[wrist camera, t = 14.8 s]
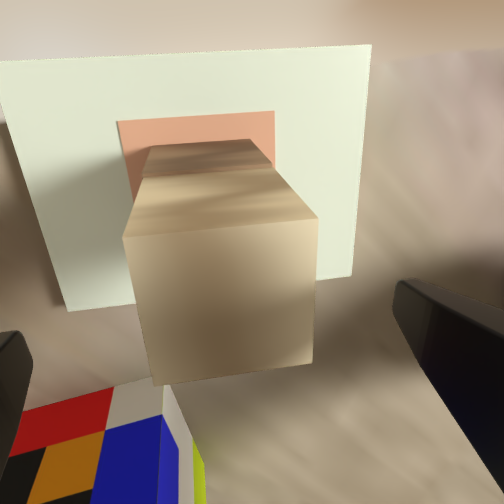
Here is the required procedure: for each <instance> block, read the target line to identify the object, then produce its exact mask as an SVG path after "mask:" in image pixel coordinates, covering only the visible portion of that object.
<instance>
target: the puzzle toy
mask: <svg viewBox="0 0 504 504" xmlns="http://www.w3.org/2000/svg"><path fill="white" fill-rule="evenodd" d="M0 504H206V490H205V472H204V463H203V461H202V459H201V456H200V454H199V452H198V449H197V447H196V445H195V442H194V440H193V438H192V435H191V433H190V431H189V429H188V426H187V424H186V422H185V419H184V417H183V415H182V412H181V410H180V408H179V405H178V403H177V401H176V398H175V396H174V394H173V391H172V389H171V387H170V385H163V386H156V387H154V385H153V380H152V376H151V377H148V378H144V379H140V380H137V381H133V382H130V383H126V384H122V385H119V386H115V387H111V388H108V389H104V390H100V391H97V392H93V393H90V394H86V395H82V396H79V397H75V398H71V399H68V400H64V401H60V402H57V403H53V404H49V405H46V406H42V407H39V408H35V409H31V410H28V411H24V412H22V416H21V420H20V424H19V428H18V432H17V435H16V438H15V441H14V444H13V446H12V449H11V452H10V455H9V457H8V460H7V463H6V466H5V468H4V471H3V474H2V477H1V480H0Z"/></svg>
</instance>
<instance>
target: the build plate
mask: <svg viewBox="0 0 504 504" xmlns="http://www.w3.org/2000/svg"><path fill="white" fill-rule="evenodd" d="M371 47H372V45H349V46H326V47H305V48H282V49H260V50H239V51H216V52H193V53H171V54H149V55H127V56H104V57H83V58H62V59H61V58H60V59H38V60H16V61H0V104H1V107H2V110H3V114H4V117H5V120H6V123H7V126H8V129H9V132H10V135H11V138H12V141H13V144H14V147H15V151H16V154H17V157H18V160H19V163H20V166H21V169H22V172H23V175H24V178H25V181H26V184H27V188H28V191H29V194H30V197H31V200H32V203H33V206H34V209H35V212H36V215H37V218H38V221H39V224H40V228H41V231H42V234H43V237H44V240H45V243H46V246H47V249H48V252H49V255H50V258H51V261H52V265H53V268H54V271H55V274H56V277H57V280H58V283H59V286H60V289H61V292H62V295H63V298H64V302H65V305H66V308H67V311H68V312H71V311H79V310H87V309H95V308H103V307H111V306H119V305H126V304H134V303H136V301H135V296H134V291H133V287H132V282H131V277H130V273H129V268H128V263H127V259H126V254H125V249H124V244H123V240H122V237H123V234H124V231H125V228H126V225H127V222H128V219H129V217H130V214H131V211H132V208H133V205H134V202H135V200H136V197H137V194H138V191H139V188H140V185H141V182H142V175H141V173H142V171H143V168H144V165H145V163H146V160H147V157H148V155H149V152H150V150H151V147H152V146H153V145H167V144H182V143H196V142H210V141H224V140H238V139H251V140H252V142H253V143H254V144H255V145H256V146H257V147H258V148H259V149H260V150H261V151H262V153H263V154H264V155H265V156H266V157H267V158H268V159H269V160H270V161H271V162H272V167H274V168H275V170H276V171H277V172H278V173H279V174H280V175H281V176H282V177H283V179H284V180H285V181H286V182H287V183H288V184H289V185H290V186H291V188H292V189H293V190H294V191H295V192H296V193H297V194H298V195H299V197H300V198H301V199H302V200H303V201H304V202H305V203H306V204H307V206H308V207H309V208H310V209H311V210H312V211H313V212H314V213H315V215H316V216H317V217H318V218H319V226H318V248H317V269H316V280H324V279H332V278H340V277H347V276H351V274H352V263H353V251H354V240H355V229H356V217H357V206H358V195H359V183H360V172H361V161H362V149H363V138H364V127H365V115H366V104H367V92H368V81H369V70H370V57H371Z"/></svg>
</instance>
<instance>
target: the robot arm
mask: <svg viewBox="0 0 504 504" xmlns="http://www.w3.org/2000/svg"><path fill="white" fill-rule="evenodd" d="M392 310H393V314H394V317H395V319H396V321H397V323H398V325H399V327H400V329H401V331H402V333H403V334H404V336H405V338H406V340H407V342H408V344H409V346H410V348H411V350H412V352H413V354H414V356H415V358H416V360H417V361H418V363H419V365H420V367H421V368H422V370H423V371H424V373H425V375H426V376H427V378H428V379H429V381H430V382H431V384H432V385H433V387H434V388H435V390H436V391H437V393H438V394H439V396H440V397H441V399H442V400H443V402H444V404H445V405H446V407H447V408H448V410H449V411H450V413H451V414H452V416H453V417H454V419H455V420H456V422H457V423H458V425H459V426H460V428H461V429H462V431H463V432H464V434H465V435H466V437H467V439H468V440H469V442H470V443H471V445H472V446H473V448H474V449H475V451H476V452H477V454H478V455H479V457H480V458H481V460H482V461H483V463H484V464H485V466H486V467H487V469H488V470H489V472H490V474H491V475H492V477H493V478H494V480H495V481H496V483H497V484H498V486H499V487H500V489H501V490H502V492H503V493H504V310H502V309H499V308H497V307H494V306H491V305H488V304H485V303H483V302H480V301H477V300H474V299H472V298H469V297H466V296H463V295H460V294H458V293H455V292H452V291H449V290H446V289H444V288H441V287H438V286H435V285H433V284H430V283H427V282H424V281H421V280H419V279H416V278H408V279H401V280H399V281H397V283H396V286H395V292H394V299H393V305H392ZM32 370H33V359H32V356H31V354H30V351H29V349H28V346H27V344H26V341H25V339H24V336H23V335H22V333H21V332H19V331H9V332H1V333H0V480H1V477H2V474H3V471H4V468H5V466H6V463H7V460H8V457H9V455H10V452H11V449H12V446H13V444H14V441H15V438H16V435H17V432H18V428H19V424H20V420H21V416H22V412H23V408H24V404H25V399H26V395H27V391H28V387H29V383H30V378H31V374H32Z"/></svg>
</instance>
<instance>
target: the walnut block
mask: <svg viewBox="0 0 504 504" xmlns="http://www.w3.org/2000/svg"><path fill="white" fill-rule="evenodd" d="M271 167H272V162H271V161H270V160H269V159H268V158H267V157H266V156H265V155H264V154H263V153H262V151H261V150H260V149H259V148H258V147H257V146H256V145H255V144H254V143H253V142H252V140H251V139H238V140H224V141H210V142H196V143H182V144H167V145H153V146H152V147H151V150H150V152H149V155H148V157H147V160H146V163H145V165H144V168H143V171H142V173H141V175H142V180H143V178H145V177H158V176H170V175H183V174H195V173H208V172H221V171H233V170H246V169H258V168H271Z"/></svg>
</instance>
